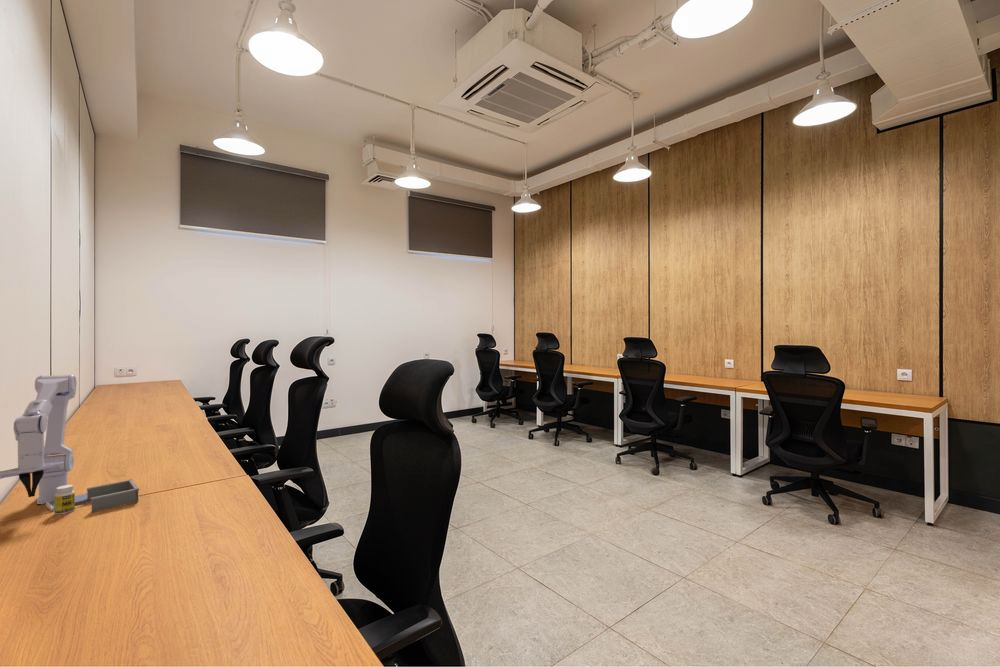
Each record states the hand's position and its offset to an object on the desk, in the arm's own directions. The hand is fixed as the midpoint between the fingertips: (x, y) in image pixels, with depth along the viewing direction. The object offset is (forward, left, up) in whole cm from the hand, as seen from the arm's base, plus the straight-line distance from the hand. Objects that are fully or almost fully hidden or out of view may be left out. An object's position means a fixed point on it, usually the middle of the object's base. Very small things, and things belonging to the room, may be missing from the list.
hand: (31, 496), depth 141 cm
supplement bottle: (0, +8, -8) cm, 11 cm away
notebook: (-9, +10, -7) cm, 15 cm away
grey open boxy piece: (0, +20, -7) cm, 21 cm away
